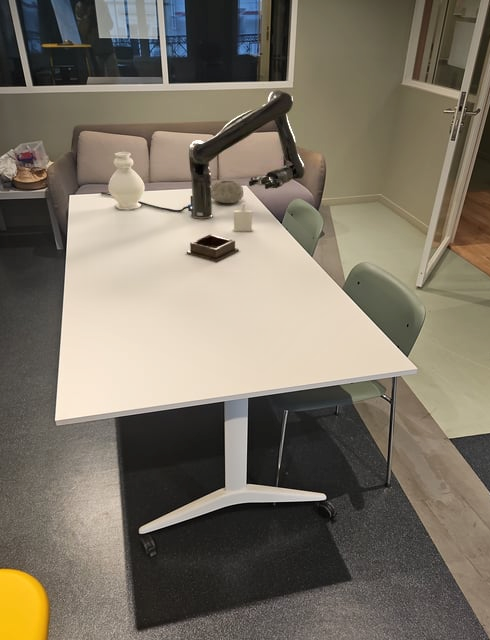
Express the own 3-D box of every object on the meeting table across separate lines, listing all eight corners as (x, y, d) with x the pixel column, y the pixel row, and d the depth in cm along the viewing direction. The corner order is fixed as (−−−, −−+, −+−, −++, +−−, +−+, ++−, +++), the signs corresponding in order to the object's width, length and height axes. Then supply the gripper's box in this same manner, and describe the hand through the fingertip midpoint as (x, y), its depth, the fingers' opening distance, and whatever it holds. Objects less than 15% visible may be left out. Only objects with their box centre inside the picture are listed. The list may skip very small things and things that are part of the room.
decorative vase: (129, 199, 267) (123, 148, 253) (153, 205, 259) (149, 152, 245) (103, 207, 256) (96, 154, 241) (128, 213, 247) (121, 158, 233)
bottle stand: (186, 254, 203) (186, 243, 200) (209, 243, 213) (209, 233, 210) (216, 262, 196) (216, 251, 193) (238, 251, 206) (238, 240, 203)
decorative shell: (216, 207, 257) (215, 187, 251) (205, 198, 271) (204, 179, 265) (248, 204, 263) (248, 184, 257) (236, 195, 276) (236, 176, 270)
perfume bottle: (233, 231, 226) (234, 204, 219) (233, 229, 228) (234, 202, 221) (251, 231, 226) (252, 204, 220) (251, 230, 228) (252, 203, 221)
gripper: (264, 167, 237) (244, 174, 226) (290, 171, 230) (271, 178, 219) (263, 184, 241) (244, 191, 230) (289, 188, 234) (270, 196, 223)
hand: (257, 185), depth 225 cm, fingers open, 8 cm apart
